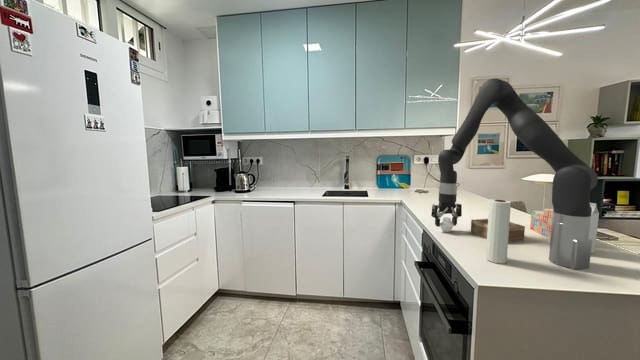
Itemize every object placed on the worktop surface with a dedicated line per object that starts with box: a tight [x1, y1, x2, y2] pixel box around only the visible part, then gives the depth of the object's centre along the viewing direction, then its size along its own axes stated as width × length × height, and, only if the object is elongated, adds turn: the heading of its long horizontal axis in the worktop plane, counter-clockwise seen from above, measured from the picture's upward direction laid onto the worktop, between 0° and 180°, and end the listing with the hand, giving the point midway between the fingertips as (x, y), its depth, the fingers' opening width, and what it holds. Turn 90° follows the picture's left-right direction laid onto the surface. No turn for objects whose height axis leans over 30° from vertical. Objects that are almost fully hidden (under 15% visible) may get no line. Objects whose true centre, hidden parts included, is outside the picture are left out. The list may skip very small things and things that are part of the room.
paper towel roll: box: [485, 198, 512, 264], centre depth 92 cm, size 7×6×21 cm
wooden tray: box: [470, 218, 526, 243], centre depth 118 cm, size 14×14×6 cm
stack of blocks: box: [529, 208, 553, 240], centre depth 117 cm, size 21×6×12 cm, turn 169°
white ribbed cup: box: [439, 216, 454, 233], centre depth 126 cm, size 6×6×7 cm
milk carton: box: [589, 202, 600, 254], centre depth 99 cm, size 7×7×19 cm
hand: (445, 225), depth 126 cm, fingers open, 8 cm apart
